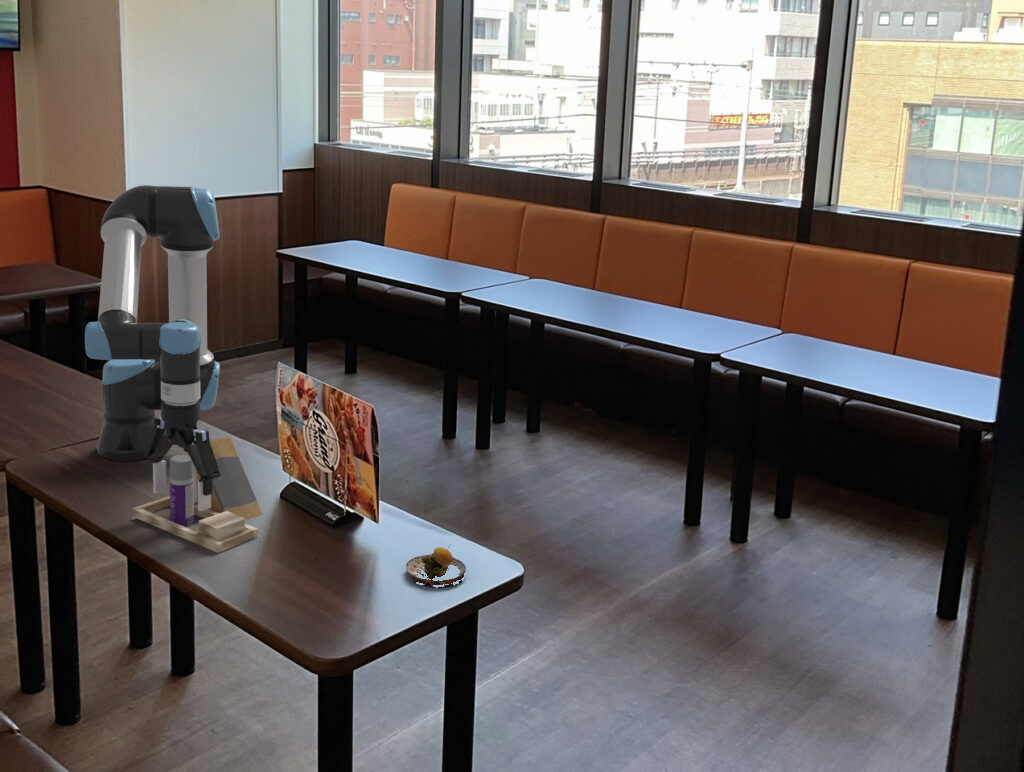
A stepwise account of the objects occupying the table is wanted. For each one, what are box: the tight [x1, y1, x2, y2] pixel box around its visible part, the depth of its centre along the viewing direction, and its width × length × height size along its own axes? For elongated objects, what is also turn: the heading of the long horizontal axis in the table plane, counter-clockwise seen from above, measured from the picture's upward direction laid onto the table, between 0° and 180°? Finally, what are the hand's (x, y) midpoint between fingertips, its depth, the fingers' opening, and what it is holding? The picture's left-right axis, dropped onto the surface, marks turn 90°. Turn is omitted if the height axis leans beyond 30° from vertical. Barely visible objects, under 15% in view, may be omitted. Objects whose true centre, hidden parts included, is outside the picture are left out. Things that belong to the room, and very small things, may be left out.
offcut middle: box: [199, 528, 245, 541], centre depth 215 cm, size 6×7×2 cm
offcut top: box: [198, 511, 246, 538], centre depth 214 cm, size 6×7×2 cm
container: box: [169, 454, 195, 527], centre depth 220 cm, size 5×5×15 cm
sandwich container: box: [195, 436, 264, 521], centre depth 228 cm, size 9×15×15 cm, turn 44°
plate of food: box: [406, 544, 467, 587], centre depth 209 cm, size 12×12×8 cm
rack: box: [131, 495, 259, 554], centre depth 220 cm, size 26×10×3 cm, turn 56°
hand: (181, 500), depth 220 cm, fingers open, 13 cm apart
